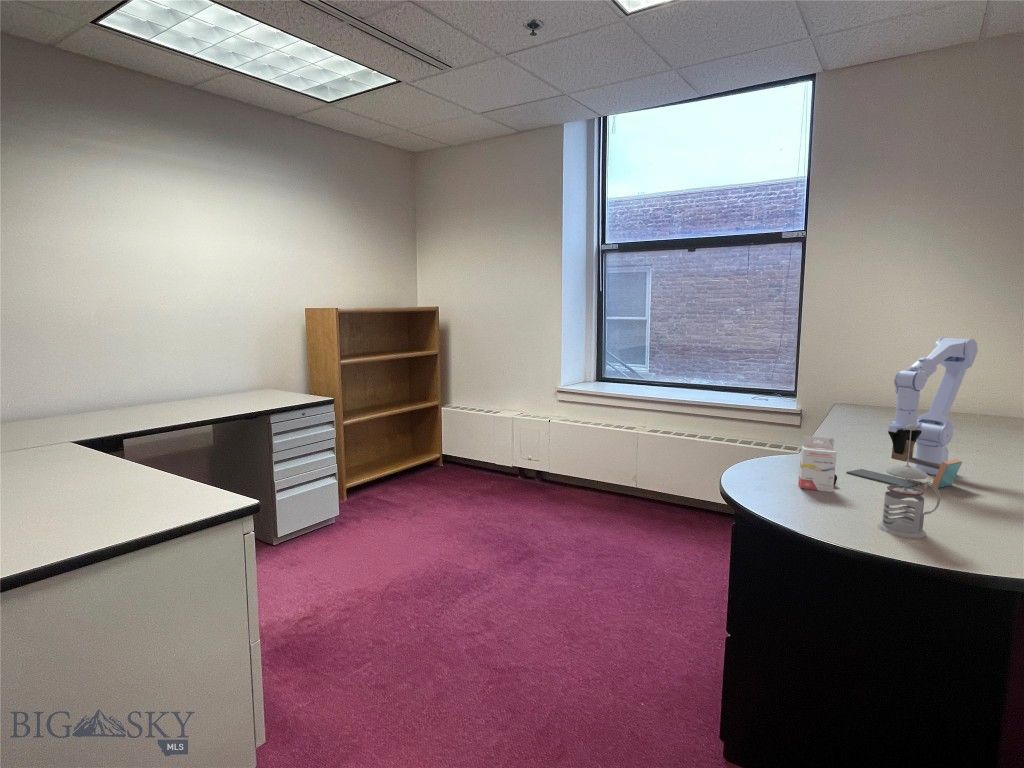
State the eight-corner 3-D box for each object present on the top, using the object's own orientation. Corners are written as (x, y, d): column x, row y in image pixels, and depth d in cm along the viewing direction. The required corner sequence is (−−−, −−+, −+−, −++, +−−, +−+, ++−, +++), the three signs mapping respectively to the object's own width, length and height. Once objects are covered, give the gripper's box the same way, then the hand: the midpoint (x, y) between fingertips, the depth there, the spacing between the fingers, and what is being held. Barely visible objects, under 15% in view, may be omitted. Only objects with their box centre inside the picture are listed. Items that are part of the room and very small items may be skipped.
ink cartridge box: (800, 489, 170) (804, 438, 168) (798, 484, 174) (801, 435, 173) (833, 492, 167) (838, 441, 165) (830, 487, 172) (834, 437, 170)
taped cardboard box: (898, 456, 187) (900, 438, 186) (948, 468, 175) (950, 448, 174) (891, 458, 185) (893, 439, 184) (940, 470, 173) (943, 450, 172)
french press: (883, 519, 145) (893, 419, 142) (940, 532, 137) (952, 426, 134) (870, 529, 139) (880, 424, 136) (930, 543, 130) (941, 432, 127)
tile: (945, 482, 177) (956, 458, 175) (951, 485, 176) (962, 461, 173) (931, 485, 174) (942, 461, 171) (937, 488, 172) (948, 464, 169)
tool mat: (861, 470, 191) (861, 468, 191) (921, 485, 175) (921, 483, 175) (846, 473, 187) (846, 471, 187) (906, 488, 172) (906, 486, 172)
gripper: (906, 406, 189) (902, 447, 191) (879, 409, 182) (875, 452, 184) (930, 409, 183) (926, 452, 185) (903, 412, 176) (899, 457, 178)
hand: (902, 452), depth 184 cm, fingers closed on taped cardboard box, 4 cm apart
